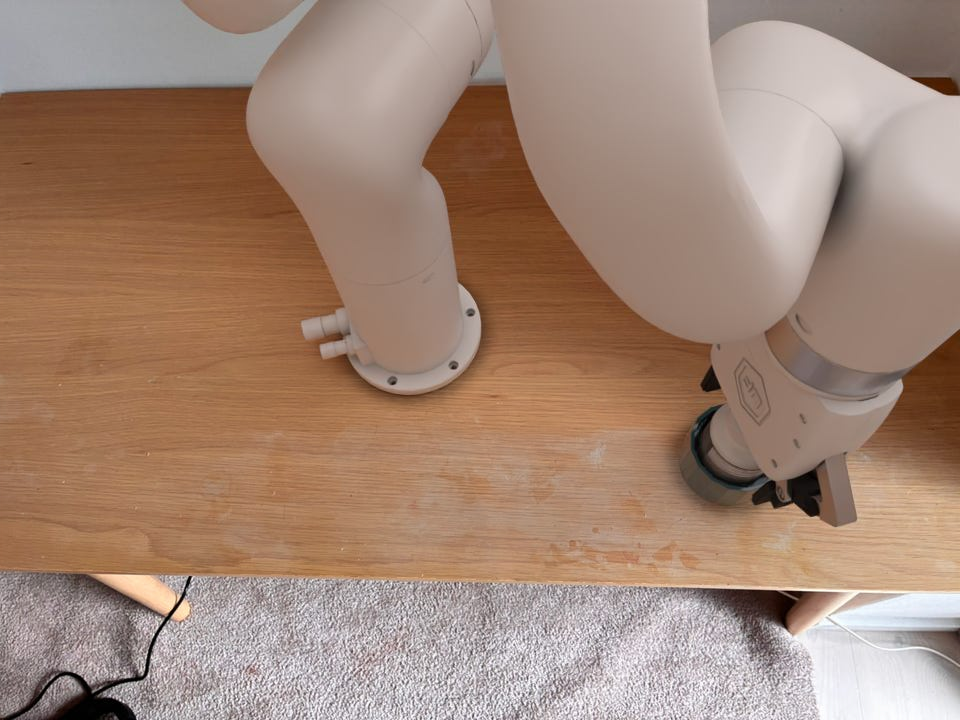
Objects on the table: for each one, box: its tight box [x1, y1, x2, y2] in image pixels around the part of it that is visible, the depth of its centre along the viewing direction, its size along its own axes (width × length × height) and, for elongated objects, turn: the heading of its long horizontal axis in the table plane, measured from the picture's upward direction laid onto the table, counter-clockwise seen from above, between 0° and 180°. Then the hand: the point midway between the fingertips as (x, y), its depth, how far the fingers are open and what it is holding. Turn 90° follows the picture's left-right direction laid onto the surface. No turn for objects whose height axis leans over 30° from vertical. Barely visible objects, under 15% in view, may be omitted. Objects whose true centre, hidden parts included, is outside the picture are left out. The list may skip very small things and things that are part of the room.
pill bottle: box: [695, 401, 763, 487], centre depth 52 cm, size 5×5×10 cm
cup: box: [678, 403, 772, 507], centre depth 54 cm, size 7×7×4 cm
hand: (745, 437), depth 51 cm, fingers open, 8 cm apart
